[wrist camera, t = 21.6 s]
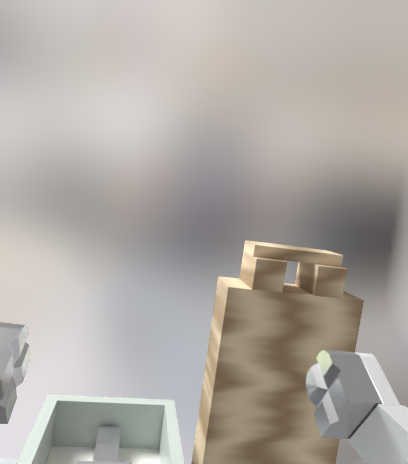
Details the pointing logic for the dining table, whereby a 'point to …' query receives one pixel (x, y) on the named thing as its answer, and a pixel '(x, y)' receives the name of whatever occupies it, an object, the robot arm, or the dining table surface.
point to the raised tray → (103, 414)
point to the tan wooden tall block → (272, 357)
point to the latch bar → (106, 446)
